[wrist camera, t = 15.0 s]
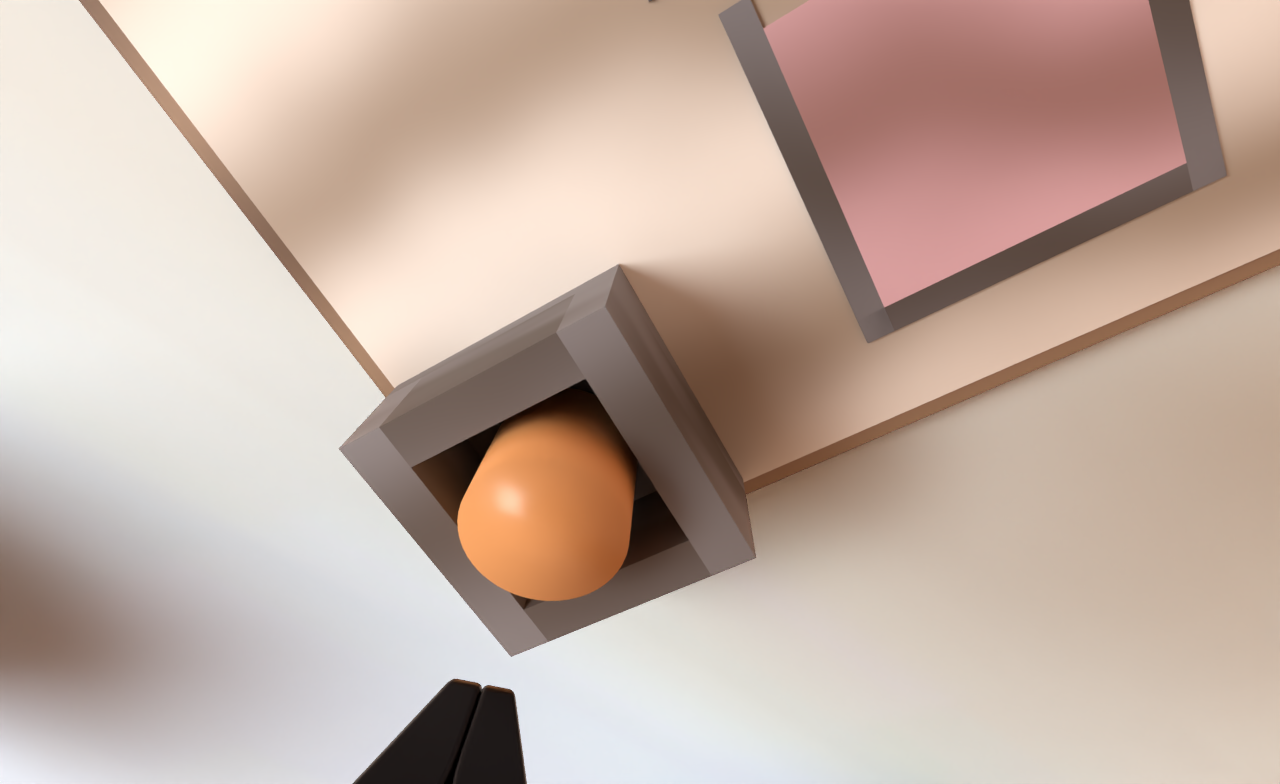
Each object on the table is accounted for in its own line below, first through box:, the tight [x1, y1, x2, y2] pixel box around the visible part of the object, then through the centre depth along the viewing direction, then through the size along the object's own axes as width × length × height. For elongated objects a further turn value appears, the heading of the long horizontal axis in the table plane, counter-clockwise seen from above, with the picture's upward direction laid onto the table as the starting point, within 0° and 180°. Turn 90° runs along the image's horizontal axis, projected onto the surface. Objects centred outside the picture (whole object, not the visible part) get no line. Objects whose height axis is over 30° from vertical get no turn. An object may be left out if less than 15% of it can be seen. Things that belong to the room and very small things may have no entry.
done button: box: [457, 388, 638, 601], centre depth 14 cm, size 3×3×3 cm
